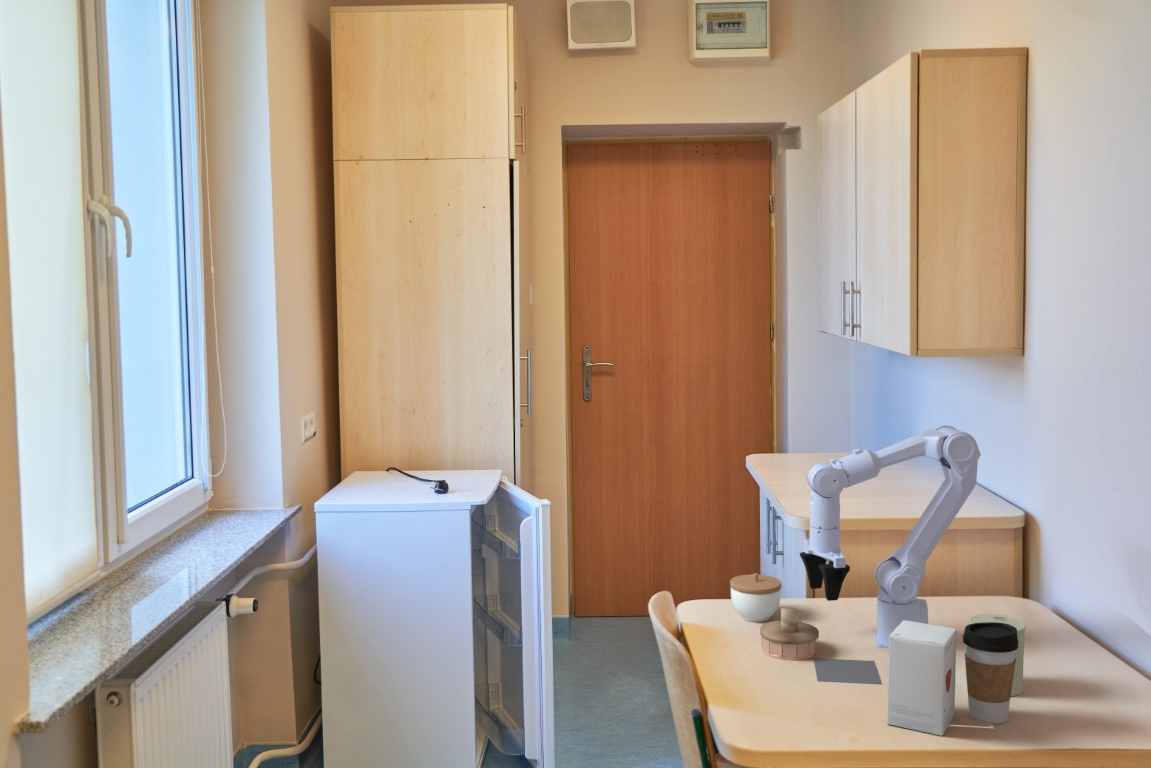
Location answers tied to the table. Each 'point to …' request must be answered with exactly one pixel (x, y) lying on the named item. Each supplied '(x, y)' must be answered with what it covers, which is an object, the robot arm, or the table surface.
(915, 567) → the robot arm
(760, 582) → the lidded jar
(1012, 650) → the coffee cup
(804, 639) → the lid
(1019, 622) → the can
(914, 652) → the supplement box
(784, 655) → the dish
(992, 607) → the table surface
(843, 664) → the mat
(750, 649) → the table surface
